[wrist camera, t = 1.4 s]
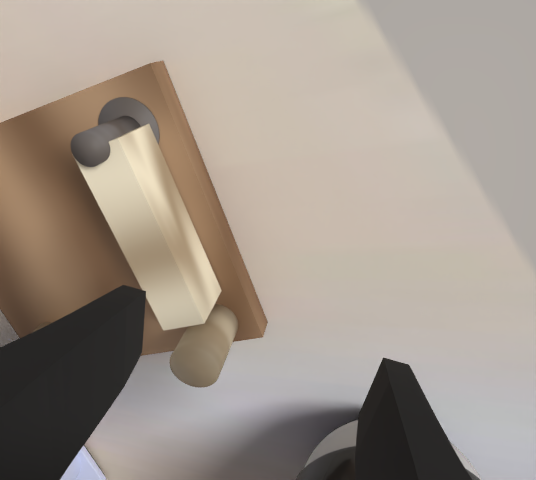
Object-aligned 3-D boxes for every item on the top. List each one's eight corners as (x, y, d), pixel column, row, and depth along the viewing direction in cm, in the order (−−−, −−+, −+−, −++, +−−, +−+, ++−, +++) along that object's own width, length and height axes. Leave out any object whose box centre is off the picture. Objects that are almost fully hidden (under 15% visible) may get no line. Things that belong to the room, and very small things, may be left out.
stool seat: (54, 356, 26) (2, 414, 22) (-77, 155, 22) (-173, 184, 18) (267, 322, 22) (247, 385, 18) (163, 60, 17) (106, 71, 13)
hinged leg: (101, 123, 18) (55, 141, 15) (142, 108, 17) (102, 124, 14) (184, 297, 21) (158, 338, 18) (221, 290, 20) (200, 331, 17)
